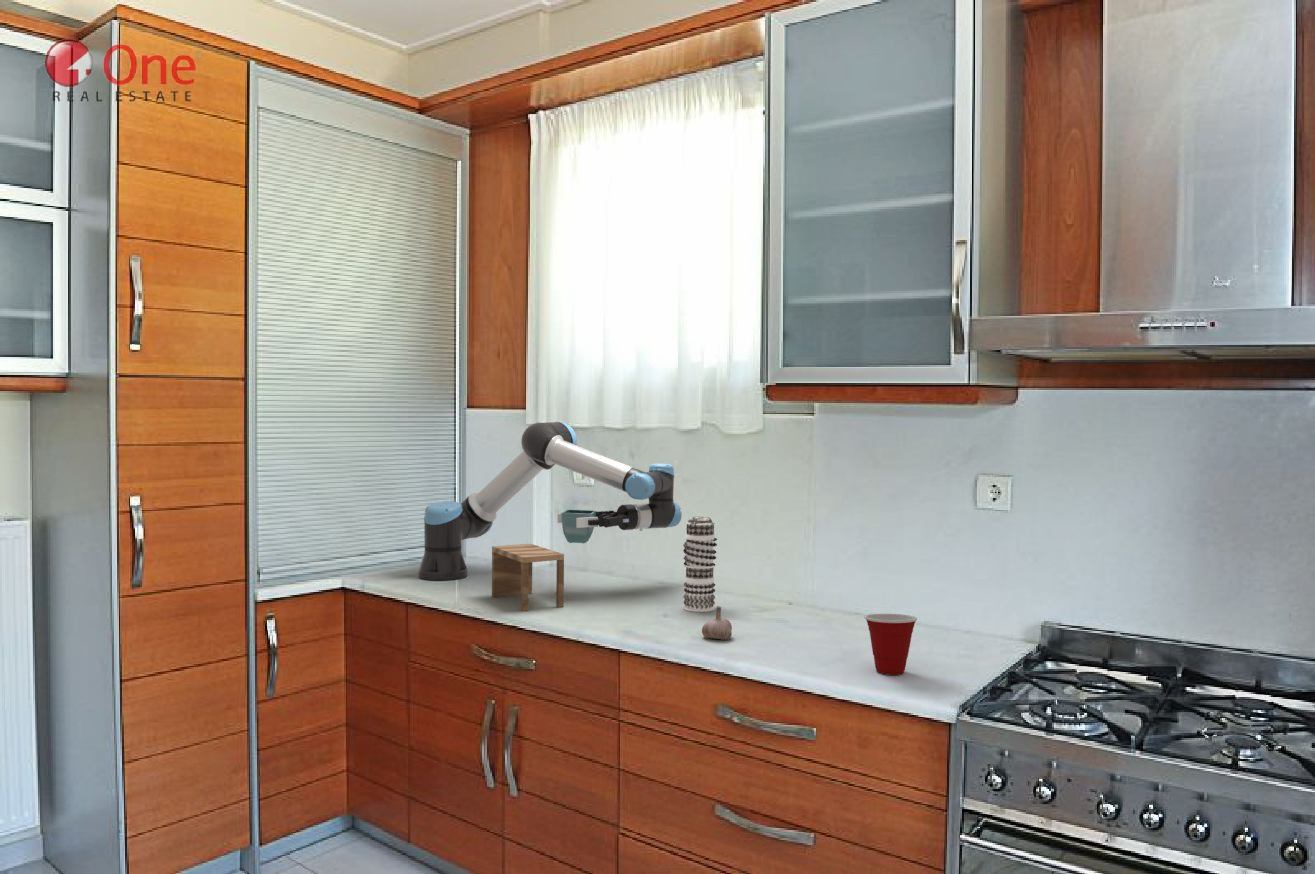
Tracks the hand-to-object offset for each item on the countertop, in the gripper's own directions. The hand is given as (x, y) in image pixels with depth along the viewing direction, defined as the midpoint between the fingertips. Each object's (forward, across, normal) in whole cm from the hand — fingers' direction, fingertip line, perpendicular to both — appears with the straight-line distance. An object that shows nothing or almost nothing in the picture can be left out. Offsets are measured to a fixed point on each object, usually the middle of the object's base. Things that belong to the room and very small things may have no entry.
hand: (567, 520), depth 279 cm
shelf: (+12, 0, -22) cm, 25 cm away
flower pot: (-4, 0, -7) cm, 8 cm away
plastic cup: (-25, -103, -22) cm, 108 cm away
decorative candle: (-25, -31, -22) cm, 46 cm away
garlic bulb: (-10, -61, -22) cm, 66 cm away
